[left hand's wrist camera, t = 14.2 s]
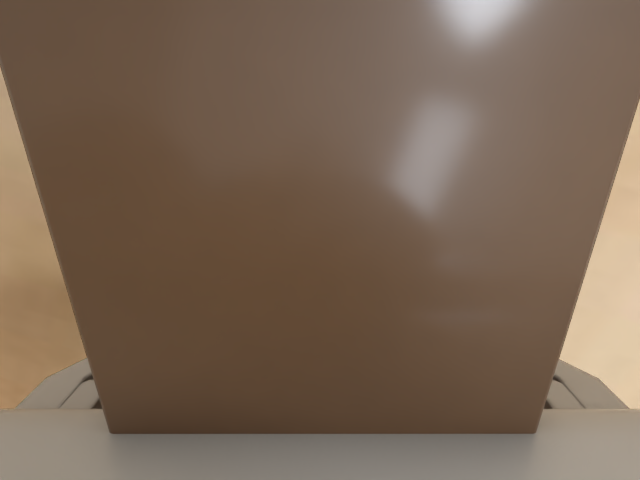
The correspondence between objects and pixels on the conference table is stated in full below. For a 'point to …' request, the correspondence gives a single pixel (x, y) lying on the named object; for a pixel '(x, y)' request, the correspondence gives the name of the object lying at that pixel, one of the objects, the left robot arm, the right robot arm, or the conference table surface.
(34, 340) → the conference table surface
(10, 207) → the conference table surface
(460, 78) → the box
